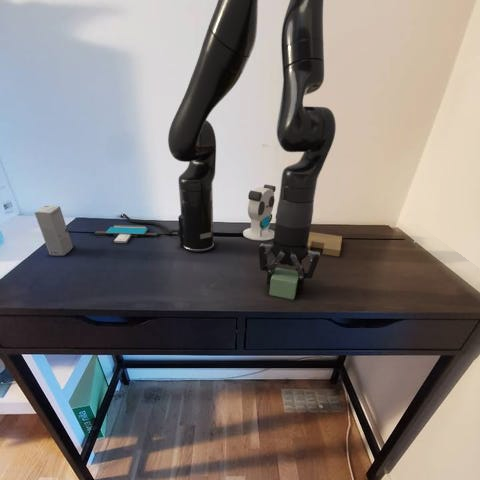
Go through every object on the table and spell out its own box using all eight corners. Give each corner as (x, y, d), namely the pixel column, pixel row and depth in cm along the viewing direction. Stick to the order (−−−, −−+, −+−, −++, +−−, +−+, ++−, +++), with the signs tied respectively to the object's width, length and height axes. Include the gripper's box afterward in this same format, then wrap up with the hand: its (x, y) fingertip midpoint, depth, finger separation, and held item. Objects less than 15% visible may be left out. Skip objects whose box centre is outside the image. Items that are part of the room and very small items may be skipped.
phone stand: (87, 242, 96) (86, 236, 95) (101, 228, 105) (100, 223, 104) (152, 244, 96) (152, 239, 95) (160, 230, 106) (160, 225, 105)
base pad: (293, 249, 97) (293, 243, 96) (298, 236, 106) (299, 230, 105) (338, 256, 94) (340, 250, 93) (340, 242, 103) (342, 236, 102)
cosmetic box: (65, 256, 88) (51, 212, 80) (48, 255, 87) (33, 212, 80) (73, 247, 93) (61, 205, 85) (58, 247, 92) (44, 205, 85)
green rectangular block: (269, 295, 75) (270, 278, 72) (277, 277, 82) (279, 261, 80) (293, 299, 74) (296, 283, 71) (299, 281, 81) (302, 265, 78)
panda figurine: (265, 244, 100) (270, 195, 91) (235, 236, 104) (237, 188, 95) (281, 233, 108) (287, 187, 99) (253, 225, 113) (256, 181, 104)
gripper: (329, 219, 67) (315, 286, 77) (264, 210, 71) (259, 276, 81) (326, 231, 62) (311, 302, 72) (256, 221, 65) (251, 290, 75)
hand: (284, 288), depth 76 cm, fingers closed on green rectangular block, 6 cm apart
